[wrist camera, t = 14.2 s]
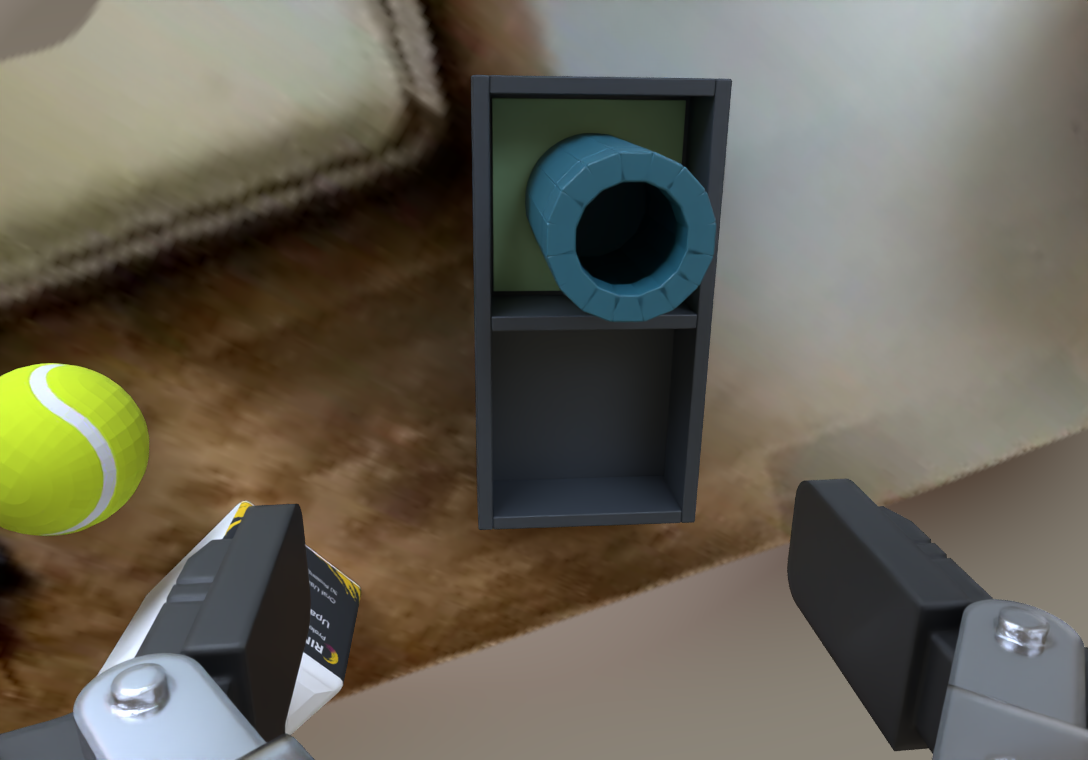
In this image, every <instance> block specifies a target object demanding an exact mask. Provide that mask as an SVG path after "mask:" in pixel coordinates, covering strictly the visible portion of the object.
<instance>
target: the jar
mask: <svg viewBox="0 0 1088 760" xmlns="http://www.w3.org/2000/svg"><path fill="white" fill-rule="evenodd" d="M525 209H526V217H527V219H528V222H529V224H530V227H531V229H532V231H533V234H534V236H535V239H536V241H537V243H538V245H539V247H540V249H541V252H542V254H543V256H544V258H545V260H546V262H547V264H548V267H549V269H550V271H551V273H552V275H553V277H554V279H555V281H556V284H557V285H558V287H559V289H560V290H561V291H562V292H563V293H564V294H565V295H566V296H567V297H568V298H569V299H570V300H571V301H572V302H573V303H574V304H575V305H576V306H577V307H578V308H579V309H581V310H582V311H584V312H586V313H589V314H591V315H594V316H596V317H599V318H601V319H604V320H606V321H609V322H611V321H612V322H642V321H644V322H645V321H648V320H650V319H653V318H655V317H658V316H660V315H663V314H665V313H668V312H670V311H672V310H674V309H675V308H677V307H678V306H679V305H680V304H681V303H682V302H683V301H684V300H685V299H686V298H687V297H688V296H689V295H690V294H692V293H693V292H694V291H695V290H696V289H697V288H698V286H699V285H700V284H701V281H702V279H703V277H704V275H705V273H706V271H707V269H708V267H709V265H710V263H711V261H712V259H713V255H714V248H715V236H716V223H715V222H716V219H715V216H714V213H713V210H712V207H711V203H710V200H709V197H708V194H707V192H706V191H705V189H704V187H703V186H702V185H701V184H700V183H699V181H698V180H697V179H696V178H695V177H694V176H693V175H692V174H691V172H690V171H689V170H688V169H687V168H686V167H684V166H683V165H682V164H681V163H678V162H676V161H674V160H672V159H670V158H667V157H665V156H663V155H661V154H659V153H656V152H654V151H651V150H648V149H646V148H643V147H641V146H638V145H635V144H633V143H630V142H627V141H624V140H622V139H619V138H616V137H614V136H611V135H608V134H599V133H583V134H577V135H573V136H570V137H567V138H565V139H563V140H561V141H559V142H557V143H556V144H555V145H553V146H552V147H550V148H549V149H548V150H547V151H546V152H545V153H544V154H543V155H542V156H541V157H540V159H539V160H538V161H537V163H536V164H535V166H534V168H533V170H532V172H531V174H530V176H529V179H528V182H527V187H526V193H525Z"/></svg>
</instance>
